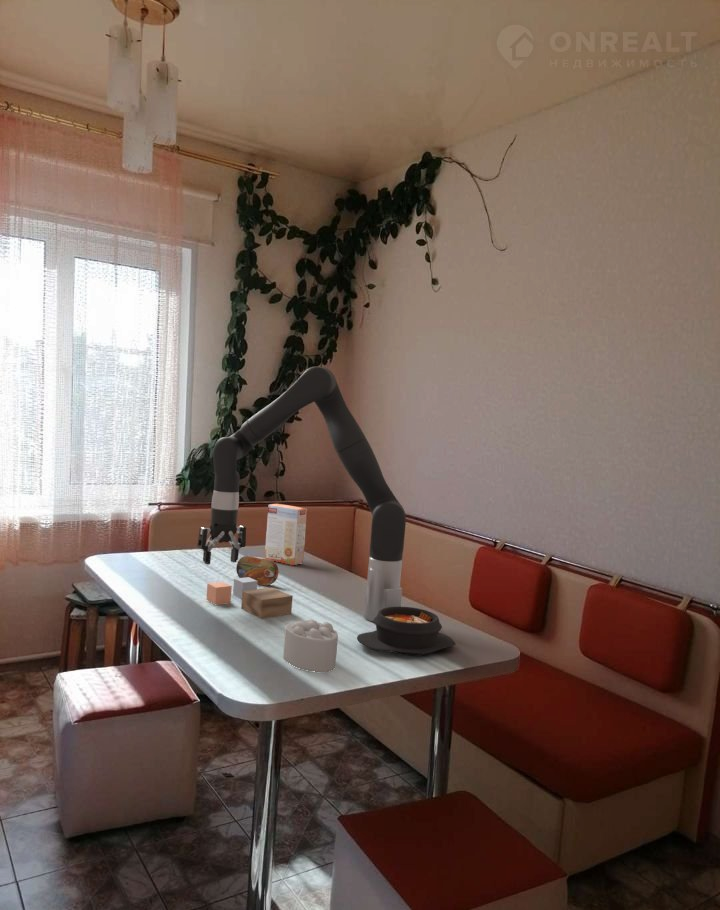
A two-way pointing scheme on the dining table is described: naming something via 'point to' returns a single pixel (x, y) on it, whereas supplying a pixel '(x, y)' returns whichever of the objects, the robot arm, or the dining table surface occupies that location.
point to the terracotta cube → (219, 593)
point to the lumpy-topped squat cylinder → (311, 646)
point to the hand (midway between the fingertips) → (220, 562)
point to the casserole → (406, 632)
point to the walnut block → (266, 602)
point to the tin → (257, 569)
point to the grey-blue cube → (243, 586)
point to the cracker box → (285, 534)
